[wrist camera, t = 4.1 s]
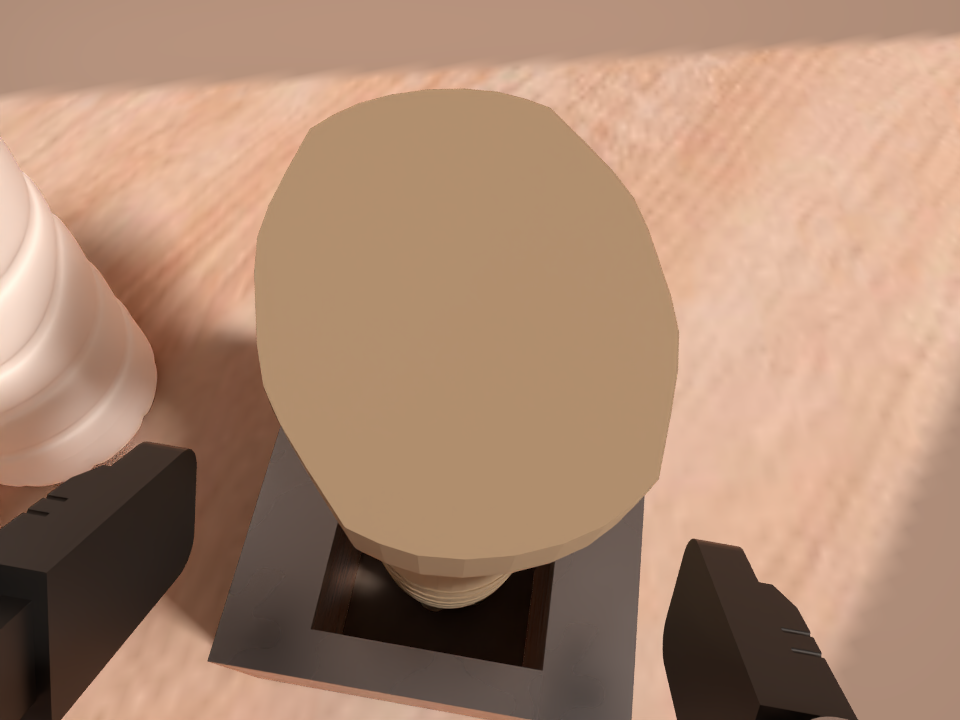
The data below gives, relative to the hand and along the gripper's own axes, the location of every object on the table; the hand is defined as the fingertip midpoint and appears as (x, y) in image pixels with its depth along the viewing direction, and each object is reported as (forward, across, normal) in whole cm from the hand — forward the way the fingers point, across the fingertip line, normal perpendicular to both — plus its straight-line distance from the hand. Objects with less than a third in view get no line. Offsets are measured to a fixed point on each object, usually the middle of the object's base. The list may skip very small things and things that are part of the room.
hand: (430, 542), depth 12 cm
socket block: (+9, 0, +6) cm, 11 cm away
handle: (+9, 0, +6) cm, 11 cm away
